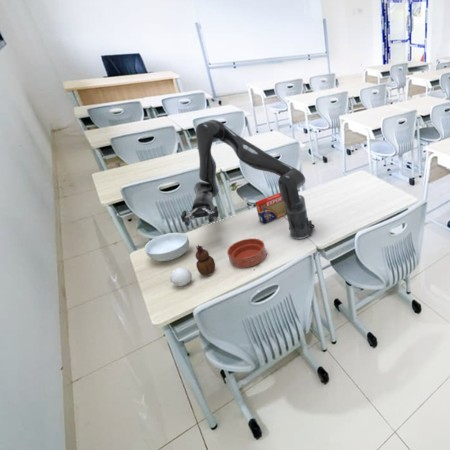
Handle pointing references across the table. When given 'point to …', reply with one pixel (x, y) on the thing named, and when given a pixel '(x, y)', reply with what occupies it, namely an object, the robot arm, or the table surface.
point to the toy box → (270, 208)
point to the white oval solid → (180, 276)
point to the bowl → (246, 252)
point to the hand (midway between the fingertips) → (198, 222)
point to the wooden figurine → (204, 261)
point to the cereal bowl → (167, 246)
